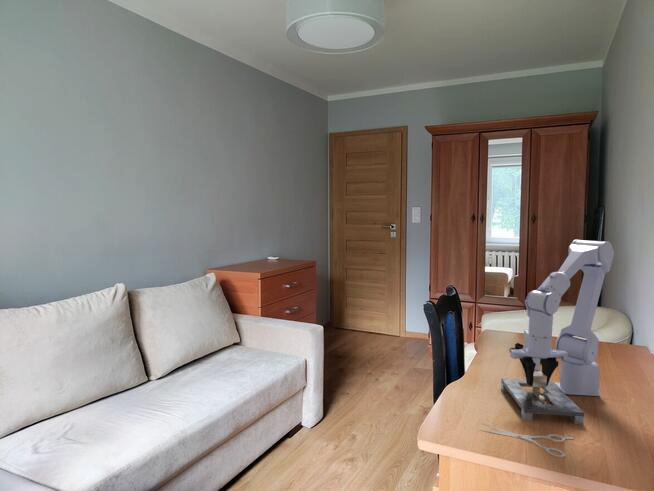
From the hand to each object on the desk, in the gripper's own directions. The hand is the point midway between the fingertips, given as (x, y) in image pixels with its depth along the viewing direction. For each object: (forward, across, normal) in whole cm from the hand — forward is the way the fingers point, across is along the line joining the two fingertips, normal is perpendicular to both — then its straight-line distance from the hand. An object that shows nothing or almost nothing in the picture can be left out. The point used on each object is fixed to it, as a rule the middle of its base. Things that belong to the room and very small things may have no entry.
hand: (537, 384), depth 120 cm
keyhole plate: (+5, 0, +2) cm, 5 cm away
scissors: (+6, +12, +19) cm, 23 cm away
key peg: (+5, 0, 0) cm, 5 cm away
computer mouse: (+6, -16, -40) cm, 44 cm away
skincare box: (+5, -11, -27) cm, 30 cm away
